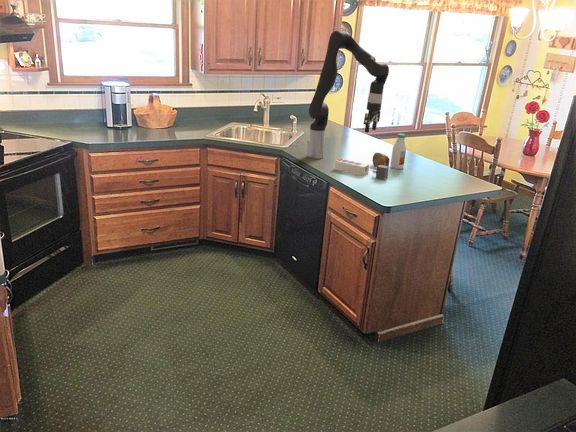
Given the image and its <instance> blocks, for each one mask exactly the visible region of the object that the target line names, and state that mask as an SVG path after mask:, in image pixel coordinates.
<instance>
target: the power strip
mask: <svg viewBox="0 0 576 432" xmlns="http://www.w3.org/2000/svg"><path fill="white" fill-rule="evenodd" d="M334 170H335V171H340V172H345V173H349V174H354V175H358V176H362V177H363V176H366V175H368V174H369V171H370V164H369V163H363V162H358V161H354V160H350V159H346V158H341V157H340V158H337V159H336V160H335V161H334Z"/></svg>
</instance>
